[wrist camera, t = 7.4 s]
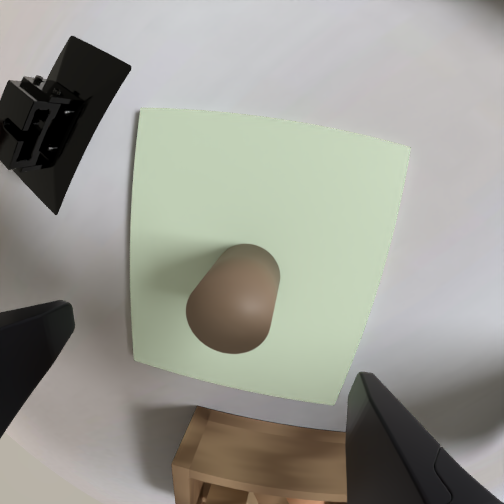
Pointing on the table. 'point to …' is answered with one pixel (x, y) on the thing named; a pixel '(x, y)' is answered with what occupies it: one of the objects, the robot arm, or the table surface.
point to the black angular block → (57, 118)
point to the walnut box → (258, 460)
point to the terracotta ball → (303, 501)
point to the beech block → (229, 496)
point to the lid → (258, 248)
